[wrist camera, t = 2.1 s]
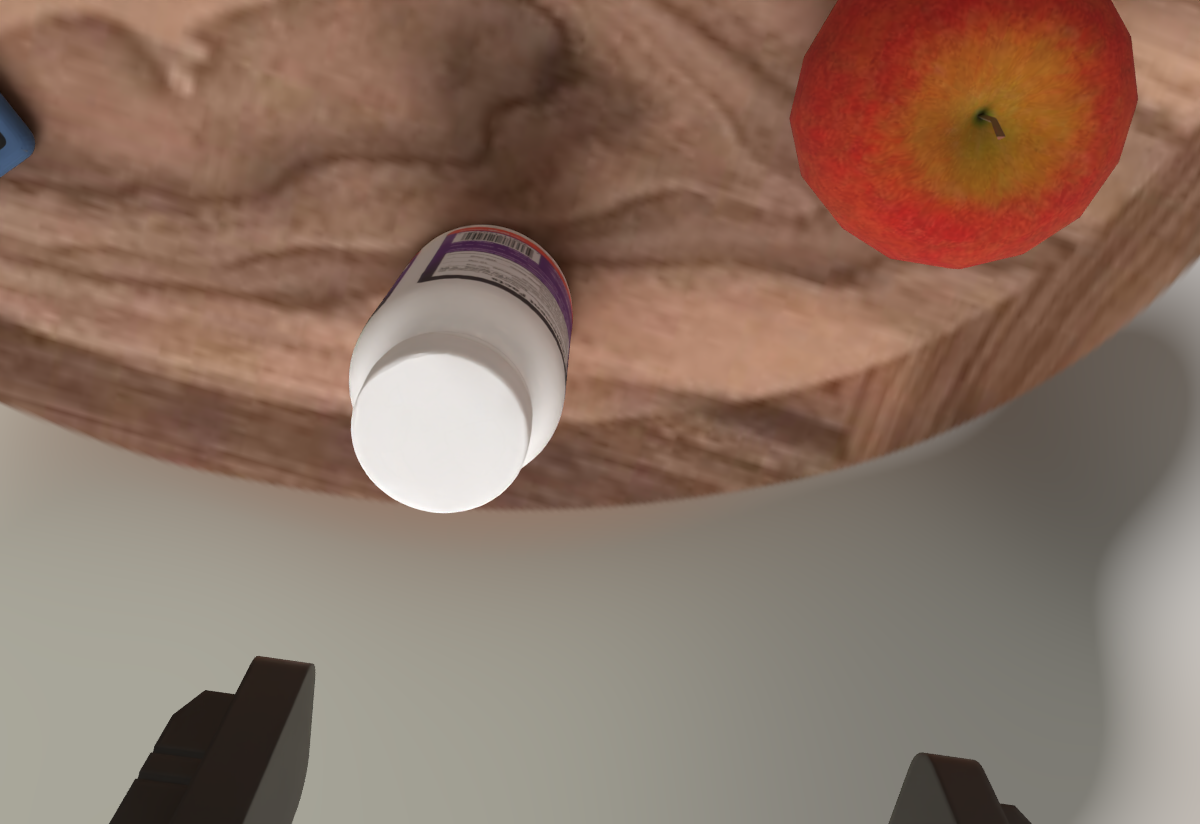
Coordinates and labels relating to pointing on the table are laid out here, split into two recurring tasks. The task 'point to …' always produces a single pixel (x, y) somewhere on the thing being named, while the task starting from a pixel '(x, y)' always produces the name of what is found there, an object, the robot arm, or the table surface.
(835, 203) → the apple
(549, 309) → the pill bottle
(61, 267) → the table surface
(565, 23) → the table surface
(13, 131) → the smartphone
